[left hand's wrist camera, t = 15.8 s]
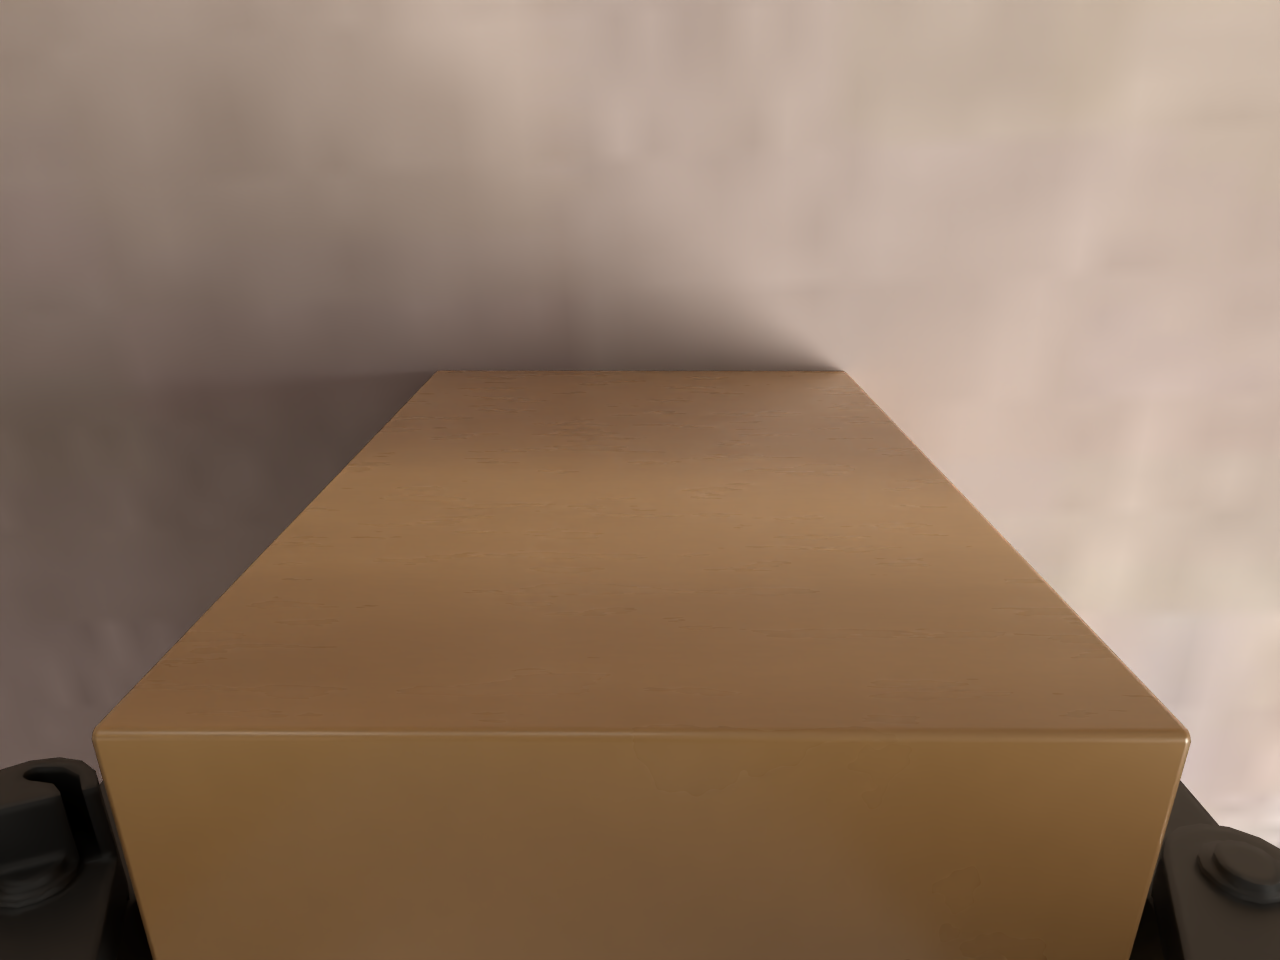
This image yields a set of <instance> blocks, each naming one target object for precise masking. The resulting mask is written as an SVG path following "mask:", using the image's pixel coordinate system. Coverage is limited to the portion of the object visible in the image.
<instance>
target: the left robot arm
mask: <svg viewBox="0 0 1280 960" xmlns="http://www.w3.org/2000/svg"><path fill="white" fill-rule="evenodd" d="M0 960H153V958H152V954H151V951H150V947H149V944H148V940H147V936H146V933H145V929H144V926H143V922H142V918H141V915H140V911H139V908H138V904H137V900H136V897H135V893H134V890H133V886H132V882H131V879H130V875H129V872H128V868H127V864H126V861H125V857H124V854H123V850H122V846H121V843H120V839H119V836H118V832H117V828H116V825H115V821H114V818H113V814H112V810H111V807H110V803H109V800H108V796H107V792H106V789H105V785H104V782H103V781H102V782H101V784H100V785H99V781H98V778H97V774H96V771H95V770H94V769H92V768H91V767H90V766H88V765H87V764H86V763H84V762H83V761H80V760H73V759H67V758H60V757H58V758H50V759H42V760H33V761H28V762H25V763H21V764H18V765H15V766H12V767H9V768H5V769H2V770H0ZM1129 960H1280V849H1279V848H1277V847H1276V846H1274V845H1272V844H1270V843H1268V842H1267V841H1265V840H1263V839H1261V838H1259V837H1256V836H1253V835H1250V834H1248V833H1245V832H1242V831H1239V830H1236V829H1233V828H1230V827H1225V826H1219V825H1218V824H1217V823H1216V821H1215V820H1214V819H1213V818H1212V817H1211V816H1210V814H1209V813H1208V812H1207V811H1206V810H1205V809H1204V807H1203V806H1202V805H1201V804H1200V803H1199V802H1198V800H1197V799H1196V798H1195V797H1194V796H1193V795H1192V793H1191V792H1190V791H1189V790H1188V789H1187V788H1186V787H1185V785H1184V784H1183V783H1182V782H1181V781H1180V782H1179V785H1178V789H1177V792H1176V796H1175V800H1174V803H1173V807H1172V810H1171V814H1170V817H1169V821H1168V824H1167V828H1166V831H1165V835H1164V838H1163V842H1162V845H1161V849H1160V852H1159V856H1158V860H1157V863H1156V867H1155V870H1154V874H1153V877H1152V881H1151V884H1150V888H1149V891H1148V895H1147V898H1146V902H1145V905H1144V909H1143V912H1142V916H1141V920H1140V923H1139V927H1138V930H1137V934H1136V937H1135V941H1134V944H1133V948H1132V951H1131V955H1130V958H1129Z"/></svg>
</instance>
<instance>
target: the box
mask: <svg viewBox="0 0 1280 960" xmlns="http://www.w3.org/2000/svg"><path fill="white" fill-rule="evenodd" d="M92 742H93V746H94V749H95V753H96V756H97V760H98V764H99V767H100V771H101V774H102V778H103V782H104V785H105V789H106V792H107V796H108V800H109V803H110V807H111V810H112V814H113V818H114V821H115V825H116V828H117V832H118V836H119V839H120V843H121V846H122V850H123V854H124V857H125V861H126V864H127V868H128V872H129V875H130V879H131V882H132V886H133V890H134V893H135V897H136V900H137V904H138V908H139V911H140V915H141V918H142V922H143V926H144V929H145V933H146V936H147V940H148V944H149V947H150V951H151V954H152V958H153V960H1129V958H1130V955H1131V951H1132V948H1133V944H1134V941H1135V937H1136V934H1137V930H1138V927H1139V923H1140V920H1141V916H1142V912H1143V909H1144V905H1145V902H1146V898H1147V895H1148V891H1149V888H1150V884H1151V881H1152V877H1153V874H1154V870H1155V867H1156V863H1157V860H1158V856H1159V852H1160V849H1161V845H1162V842H1163V838H1164V835H1165V831H1166V828H1167V824H1168V821H1169V817H1170V814H1171V810H1172V807H1173V803H1174V800H1175V796H1176V792H1177V789H1178V785H1179V782H1180V778H1181V775H1182V771H1183V768H1184V764H1185V761H1186V757H1187V754H1188V750H1189V747H1190V743H1191V739H1190V734H1189V732H1188V730H1187V729H1186V728H1185V727H1184V726H1183V724H1182V723H1181V722H1180V721H1179V720H1178V719H1177V718H1176V717H1175V716H1174V715H1173V714H1172V713H1171V712H1170V711H1169V710H1168V709H1167V708H1166V707H1165V706H1164V705H1163V704H1162V703H1161V701H1160V700H1159V699H1158V698H1157V697H1156V696H1155V695H1154V694H1153V693H1152V692H1151V691H1150V690H1149V689H1148V688H1147V687H1146V686H1145V685H1144V684H1143V683H1142V682H1141V681H1140V679H1139V678H1138V677H1137V676H1136V675H1135V674H1134V673H1133V672H1132V671H1131V670H1130V669H1129V668H1128V667H1127V666H1126V665H1125V664H1124V663H1123V662H1122V661H1121V660H1120V659H1119V658H1118V656H1117V655H1116V654H1115V653H1114V652H1113V651H1112V650H1111V649H1110V648H1109V647H1108V646H1107V645H1106V644H1105V643H1104V642H1103V641H1102V640H1101V639H1100V638H1099V637H1098V636H1097V634H1096V633H1095V632H1094V631H1093V630H1092V629H1091V628H1090V627H1089V626H1088V625H1087V624H1086V623H1085V622H1084V621H1083V620H1082V619H1081V618H1080V617H1079V616H1078V615H1077V614H1076V613H1075V611H1074V610H1073V609H1072V608H1071V607H1070V606H1069V605H1068V604H1067V603H1066V602H1065V601H1064V600H1063V599H1062V598H1061V597H1060V596H1059V595H1058V594H1057V593H1056V592H1055V591H1054V589H1053V588H1052V587H1051V586H1050V585H1049V584H1048V583H1047V582H1046V581H1045V580H1044V579H1043V578H1042V577H1041V576H1040V575H1039V574H1038V573H1037V572H1036V571H1035V570H1034V569H1033V568H1032V566H1031V565H1030V564H1029V563H1028V562H1027V561H1026V560H1025V559H1024V558H1023V557H1022V556H1021V555H1020V554H1019V553H1018V552H1017V551H1016V550H1015V549H1014V548H1013V547H1012V546H1011V544H1010V543H1009V542H1008V541H1007V540H1006V539H1005V538H1004V537H1003V536H1002V535H1001V534H1000V533H999V532H998V531H997V530H996V529H995V528H994V527H993V526H992V525H991V524H990V523H989V521H988V520H987V519H986V518H985V517H984V516H983V515H982V514H981V513H980V512H979V511H978V510H977V509H976V508H975V507H974V506H973V505H972V504H971V503H970V502H969V501H968V499H967V498H966V497H965V496H964V495H963V494H962V493H961V492H960V491H959V490H958V489H957V488H956V487H955V486H954V485H953V484H952V483H951V482H950V481H949V480H948V479H947V478H946V476H945V475H944V474H943V473H942V472H941V471H940V470H939V469H938V468H937V467H936V466H935V465H934V464H933V463H932V462H931V461H930V460H929V459H928V458H927V457H926V456H925V454H924V453H923V452H922V451H921V450H920V449H919V448H918V447H917V446H916V445H915V444H914V443H913V442H912V441H911V440H910V439H909V438H908V437H907V436H906V435H905V434H904V433H903V431H902V430H901V429H900V428H899V427H898V426H897V425H896V424H895V423H894V422H893V421H892V420H891V419H890V418H889V417H888V416H887V415H886V414H885V413H884V412H883V411H882V409H881V408H880V407H879V406H878V405H877V404H876V403H875V402H874V401H873V400H872V399H871V398H870V397H869V396H868V395H867V394H866V393H865V392H864V391H863V390H862V389H861V388H860V386H859V385H858V384H857V383H856V382H855V381H854V380H853V379H852V378H851V377H850V376H849V375H848V374H847V373H846V372H844V371H437V372H436V373H435V374H434V375H433V376H432V377H431V378H430V379H429V380H428V381H427V382H426V383H425V384H424V385H423V386H422V387H421V388H420V389H419V390H418V391H417V392H416V393H415V394H414V395H413V397H412V398H411V399H410V400H409V401H408V402H407V403H406V404H405V405H404V406H403V407H402V408H401V409H400V410H399V411H398V412H397V413H396V414H395V415H394V416H393V417H392V418H391V419H390V420H389V422H388V423H387V424H386V425H385V426H384V427H383V428H382V429H381V430H380V431H379V432H378V433H377V434H376V435H375V436H374V437H373V438H372V439H371V440H370V441H369V442H368V443H367V444H366V446H365V447H364V448H363V449H362V450H361V451H360V452H359V453H358V454H357V455H356V456H355V457H354V458H353V459H352V460H351V461H350V462H349V463H348V464H347V465H346V466H345V467H344V468H343V470H342V471H341V472H340V473H339V474H338V475H337V476H336V477H335V478H334V479H333V480H332V481H331V482H330V483H329V484H328V485H327V486H326V487H325V488H324V489H323V490H322V491H321V492H320V493H319V495H318V496H317V497H316V498H315V499H314V500H313V501H312V502H311V503H310V504H309V505H308V506H307V507H306V508H305V509H304V510H303V511H302V512H301V513H300V514H299V515H298V516H297V517H296V519H295V520H294V521H293V522H292V523H291V524H290V525H289V526H288V527H287V528H286V529H285V530H284V531H283V532H282V533H281V534H280V535H279V536H278V537H277V538H276V539H275V540H274V541H273V543H272V544H271V545H270V546H269V547H268V548H267V549H266V550H265V551H264V552H263V553H262V554H261V555H260V556H259V557H258V558H257V559H256V560H255V561H254V562H253V563H252V564H251V565H250V566H249V568H248V569H247V570H246V571H245V572H244V573H243V574H242V575H241V576H240V577H239V578H238V579H237V580H236V581H235V582H234V583H233V584H232V585H231V586H230V587H229V588H228V589H227V590H226V592H225V593H224V594H223V595H222V596H221V597H220V598H219V599H218V600H217V601H216V602H215V603H214V604H213V605H212V606H211V607H210V608H209V609H208V610H207V611H206V612H205V613H204V614H203V616H202V617H201V618H200V619H199V620H198V621H197V622H196V623H195V624H194V625H193V626H192V627H191V628H190V629H189V630H188V631H187V632H186V633H185V634H184V635H183V636H182V637H181V638H180V639H179V641H178V642H177V643H176V644H175V645H174V646H173V647H172V648H171V649H170V650H169V651H168V652H167V653H166V654H165V655H164V656H163V657H162V658H161V659H160V660H159V661H158V662H157V663H156V665H155V666H154V667H153V668H152V669H151V670H150V671H149V672H148V673H147V674H146V675H145V676H144V677H143V678H142V679H141V680H140V681H139V682H138V683H137V684H136V685H135V686H134V687H133V689H132V690H131V691H130V692H129V693H128V694H127V695H126V696H125V697H124V698H123V699H122V700H121V701H120V702H119V703H118V704H117V705H116V706H115V707H114V708H113V709H112V710H111V711H110V712H109V714H108V715H107V716H106V717H105V718H104V719H103V720H102V721H101V722H100V723H99V724H98V725H97V726H96V727H95V729H94V731H93V734H92Z"/></svg>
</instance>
